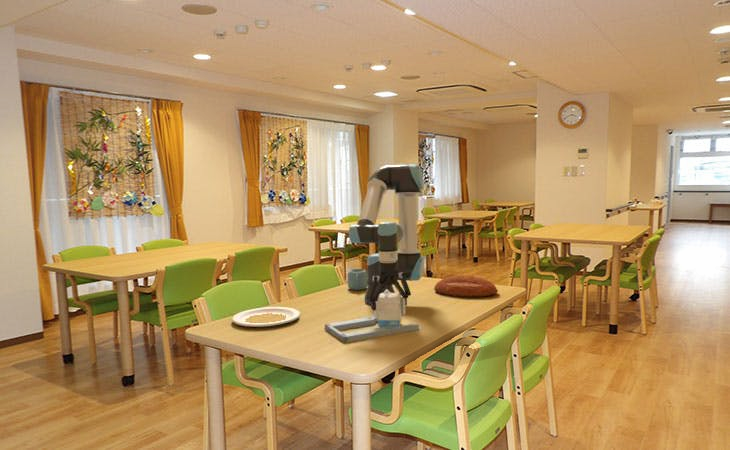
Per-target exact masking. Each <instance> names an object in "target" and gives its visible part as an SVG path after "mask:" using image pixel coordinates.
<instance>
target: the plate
mask: <svg viewBox="0 0 730 450" xmlns="http://www.w3.org/2000/svg"><path fill="white" fill-rule="evenodd" d="M267 313H269V314H270V313H272V314H279V315H280V314H282V315H284V316H285V315H286V319H285V320H281V321H276V322H269V323H249V322H245V321H246V320H245V319H247V318H249V317H250V316H254V315H262V314H267ZM300 316H301V312H300V311H299V310H297V309H296V308H292V307H286V306H285V307H284V306H283V307H282V306H265V307H257V308H252V309H248V310H243V311H240V312H238V313H236V314H234V316H233V317H232V321H233V323H234V324H236V325H239V326H244V327H256V328H257V327H271V326H278V325H283V324H286V323H287V324H288V323H291V322H294V321H295V320H297V319H298V318H299V317H300Z"/></svg>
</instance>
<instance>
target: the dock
mask: <svg viewBox="0 0 730 450" xmlns="http://www.w3.org/2000/svg"><path fill="white" fill-rule="evenodd" d="M376 323H378V319H376V318H374V316H367V317H362V318H356V319H349V320H342V321H337V322H332V323H331V322H330V323H324V330H325V331H327V332H328V333H330V334H331V335H332V336H334V337H335V338H336V339H338V340H340V341H341V342H342V343H344V344H346V343H350V342H354V341H355V342H356V341H362V340H366V339H374V338H377V337H378V338H379V337H383V336H384V337H385V336H389V335H395V334H399V333H400V334H401V333H406V332H412V331H417V330H420V325H419V323H411V324H410V323H409V324H403V325H400V326H398V327H389V326H385V327H375V328H374V327H373V328H370V329H363V330H362V329H361V330H357V331H352V332H346V333H343V332H341V330H342V331H343V330H348V329H354V328H361V327H365V326H373V325H375V324H376Z"/></svg>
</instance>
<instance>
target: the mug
mask: <svg viewBox="0 0 730 450" xmlns="http://www.w3.org/2000/svg"><path fill="white" fill-rule="evenodd" d="M347 287H348V288H349V289H350V290H352V291H360V290H367V287H368V273H367V270H366V269H361V268H355V269H350V270H348V273H347Z"/></svg>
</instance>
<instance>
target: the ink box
mask: <svg viewBox="0 0 730 450" xmlns="http://www.w3.org/2000/svg"><path fill="white" fill-rule="evenodd" d="M386 292H387V293H386ZM401 297H402V296H401V293H399V292H395V293H391V292H390V291H389V290H387V289H386V290H385V291H384V292H383V293H381V294H380V295H379V297H378V299H377V302H378V322H377V326H378V327H377V328H380V327H385V326H389V327H398V326H401V323H402V320H403V319H402V314H401Z"/></svg>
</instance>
